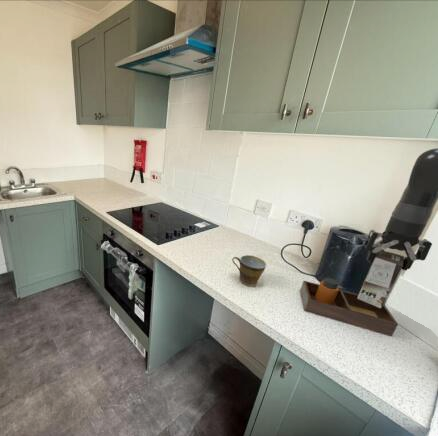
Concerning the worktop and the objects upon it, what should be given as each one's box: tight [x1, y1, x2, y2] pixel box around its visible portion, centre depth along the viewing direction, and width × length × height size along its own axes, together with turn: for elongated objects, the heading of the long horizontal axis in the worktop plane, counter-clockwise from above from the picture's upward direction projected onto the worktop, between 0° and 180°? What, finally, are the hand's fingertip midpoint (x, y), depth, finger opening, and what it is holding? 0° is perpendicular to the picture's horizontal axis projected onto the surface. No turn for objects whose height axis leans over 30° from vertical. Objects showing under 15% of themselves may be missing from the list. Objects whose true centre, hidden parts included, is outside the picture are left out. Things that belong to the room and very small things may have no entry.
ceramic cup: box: [231, 254, 267, 287], centre depth 102 cm, size 13×10×10 cm
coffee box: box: [357, 250, 405, 308], centre depth 80 cm, size 9×6×16 cm
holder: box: [299, 280, 399, 337], centre depth 87 cm, size 13×24×6 cm, turn 66°
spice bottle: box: [314, 277, 340, 305], centre depth 88 cm, size 6×6×11 cm
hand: (386, 265), depth 78 cm, fingers closed on coffee box, 8 cm apart
